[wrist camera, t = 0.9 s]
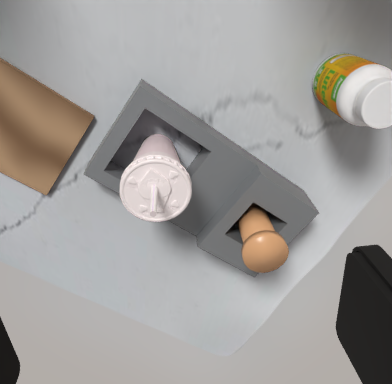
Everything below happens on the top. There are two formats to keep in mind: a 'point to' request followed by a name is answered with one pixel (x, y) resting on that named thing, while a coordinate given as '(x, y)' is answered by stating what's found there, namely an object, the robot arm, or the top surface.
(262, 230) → the tan mushroom
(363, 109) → the supplement bottle
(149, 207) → the smoothie
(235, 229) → the grey holder
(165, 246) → the top surface
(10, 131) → the mat
